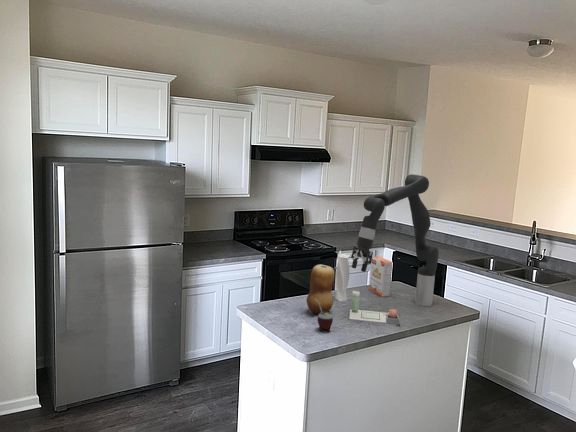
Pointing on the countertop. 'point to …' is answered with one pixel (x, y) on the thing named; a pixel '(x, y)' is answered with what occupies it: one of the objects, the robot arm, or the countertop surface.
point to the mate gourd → (324, 320)
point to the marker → (355, 301)
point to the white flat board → (373, 317)
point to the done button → (393, 313)
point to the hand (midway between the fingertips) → (358, 269)
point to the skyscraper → (342, 277)
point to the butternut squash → (321, 289)
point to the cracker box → (381, 276)
